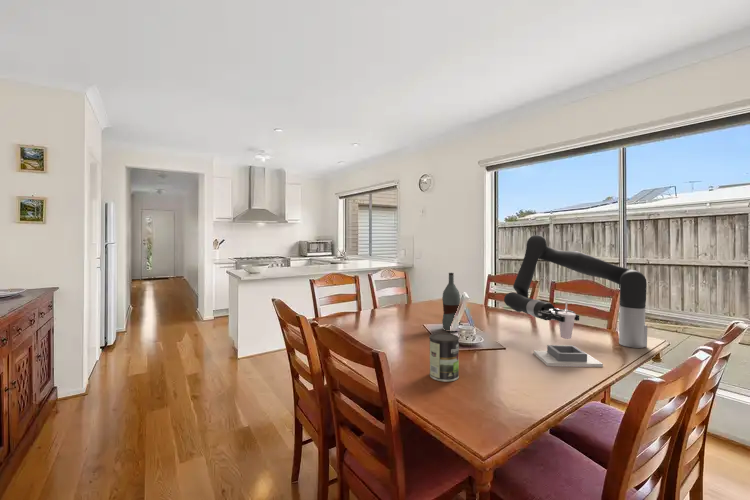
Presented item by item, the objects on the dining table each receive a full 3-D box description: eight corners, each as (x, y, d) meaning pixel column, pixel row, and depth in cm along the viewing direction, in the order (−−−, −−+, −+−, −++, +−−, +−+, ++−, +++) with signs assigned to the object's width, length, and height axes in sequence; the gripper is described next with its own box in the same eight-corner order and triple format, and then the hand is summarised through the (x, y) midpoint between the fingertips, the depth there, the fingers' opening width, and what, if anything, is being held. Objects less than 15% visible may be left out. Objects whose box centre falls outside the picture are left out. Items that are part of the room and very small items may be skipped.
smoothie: (573, 335, 140) (574, 301, 140) (576, 340, 134) (577, 304, 133) (555, 334, 142) (556, 300, 142) (558, 338, 136) (559, 303, 136)
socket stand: (583, 354, 145) (583, 344, 145) (602, 367, 131) (603, 355, 131) (533, 353, 146) (533, 343, 146) (547, 366, 132) (547, 355, 132)
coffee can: (462, 373, 126) (462, 335, 125) (453, 384, 117) (453, 342, 117) (435, 368, 131) (435, 331, 131) (424, 378, 123) (424, 338, 122)
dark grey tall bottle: (459, 333, 177) (459, 274, 176) (441, 331, 180) (441, 273, 179) (461, 328, 186) (461, 272, 185) (443, 327, 189) (443, 271, 188)
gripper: (526, 301, 150) (556, 310, 133) (554, 299, 153) (586, 308, 137) (525, 319, 150) (555, 329, 134) (553, 316, 154) (586, 326, 138)
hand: (571, 318), depth 136 cm, fingers closed on smoothie, 6 cm apart
